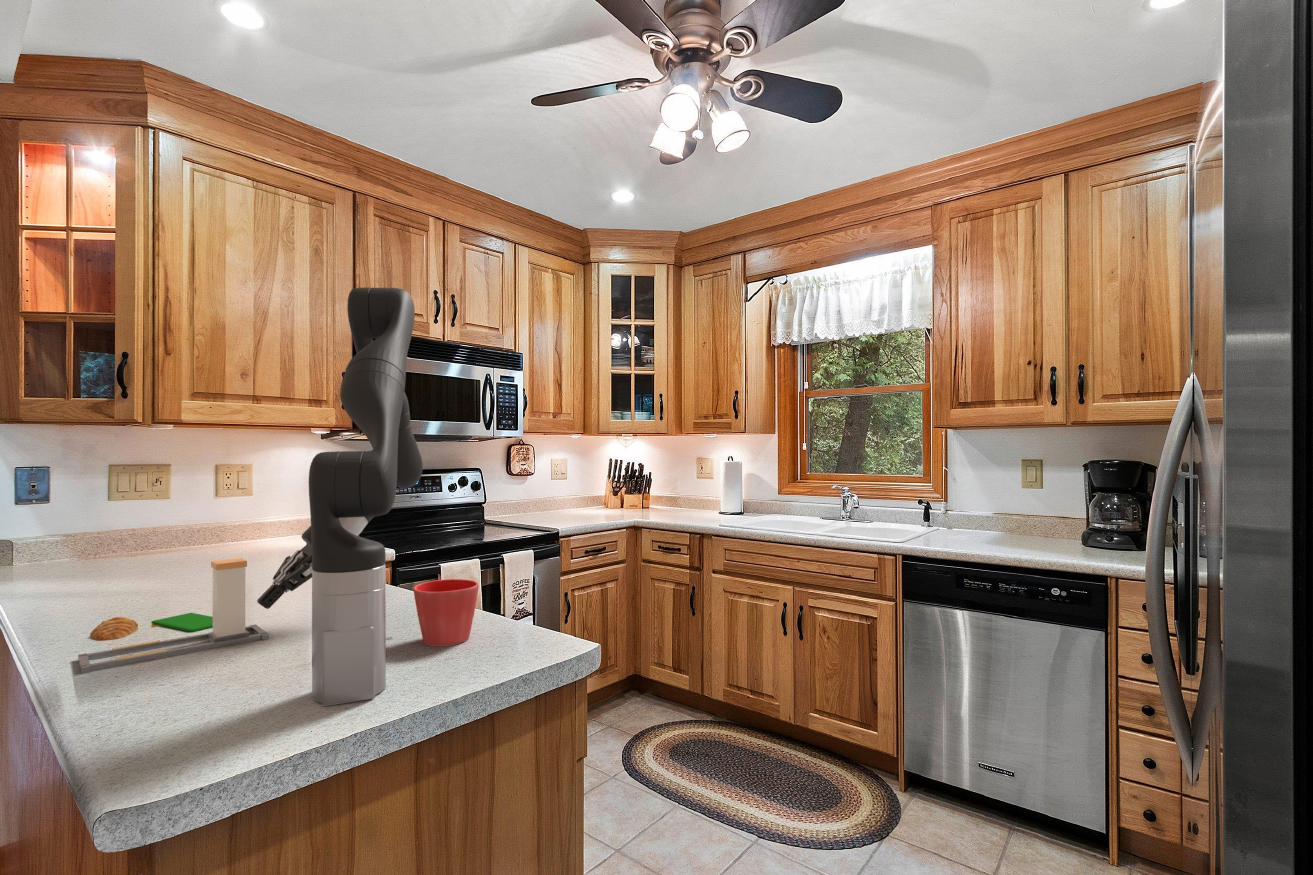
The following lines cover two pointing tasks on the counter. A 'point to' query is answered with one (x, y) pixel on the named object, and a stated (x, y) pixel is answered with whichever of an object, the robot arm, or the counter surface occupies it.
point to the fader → (228, 599)
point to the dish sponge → (186, 622)
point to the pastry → (114, 629)
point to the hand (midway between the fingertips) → (262, 605)
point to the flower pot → (446, 610)
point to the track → (137, 658)
